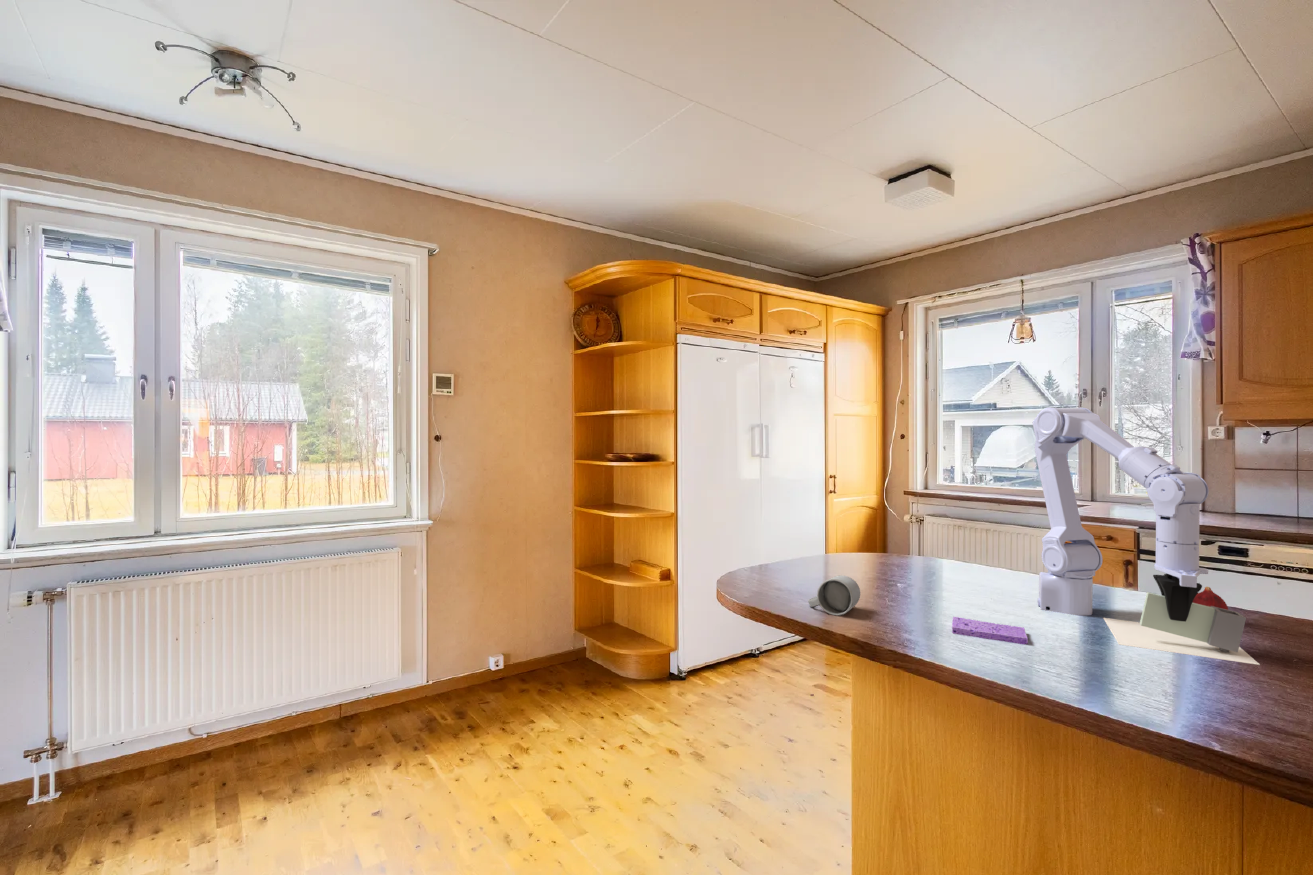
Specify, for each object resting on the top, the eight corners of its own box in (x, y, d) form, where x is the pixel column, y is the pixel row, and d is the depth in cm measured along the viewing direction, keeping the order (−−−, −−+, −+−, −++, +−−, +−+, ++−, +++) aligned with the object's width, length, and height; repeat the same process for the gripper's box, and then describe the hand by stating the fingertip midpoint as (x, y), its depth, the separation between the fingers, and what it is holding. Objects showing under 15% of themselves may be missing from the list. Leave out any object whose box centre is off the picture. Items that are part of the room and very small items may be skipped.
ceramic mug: (862, 608, 129) (862, 573, 129) (852, 618, 122) (852, 581, 122) (814, 601, 134) (814, 568, 134) (803, 610, 128) (802, 575, 128)
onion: (1236, 632, 113) (1236, 591, 113) (1201, 630, 114) (1202, 590, 114) (1214, 623, 119) (1214, 584, 119) (1181, 621, 120) (1181, 582, 120)
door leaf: (1142, 627, 104) (1150, 595, 103) (1138, 621, 107) (1145, 590, 106) (1237, 652, 98) (1246, 617, 97) (1230, 645, 101) (1238, 612, 100)
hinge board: (1119, 652, 103) (1119, 624, 103) (1102, 624, 118) (1103, 600, 118) (1260, 673, 94) (1260, 642, 94) (1223, 640, 109) (1223, 614, 109)
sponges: (952, 625, 119) (952, 616, 119) (1025, 636, 113) (1025, 626, 113) (951, 636, 113) (951, 626, 113) (1028, 647, 107) (1028, 637, 107)
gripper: (1221, 551, 95) (1221, 635, 95) (1194, 537, 107) (1194, 611, 107) (1165, 547, 98) (1164, 627, 98) (1145, 533, 111) (1144, 605, 111)
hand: (1176, 618), depth 103 cm, fingers closed on door leaf
